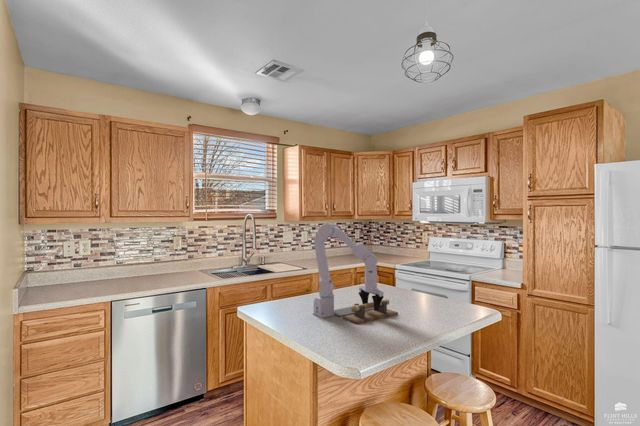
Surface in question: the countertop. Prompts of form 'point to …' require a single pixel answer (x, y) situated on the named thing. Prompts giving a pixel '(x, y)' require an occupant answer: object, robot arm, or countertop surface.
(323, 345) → the countertop surface
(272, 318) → the countertop surface
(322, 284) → the robot arm
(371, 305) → the rail
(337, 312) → the mat
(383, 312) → the hook stand
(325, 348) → the countertop surface
